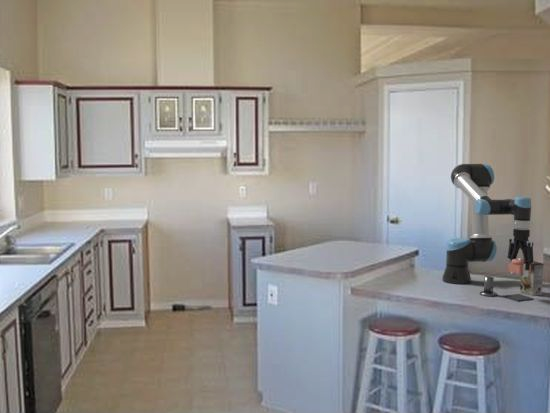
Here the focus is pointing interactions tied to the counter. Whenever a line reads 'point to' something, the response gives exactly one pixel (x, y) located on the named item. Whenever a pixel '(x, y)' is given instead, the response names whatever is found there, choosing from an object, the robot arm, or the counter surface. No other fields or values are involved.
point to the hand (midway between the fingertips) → (519, 275)
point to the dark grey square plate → (518, 297)
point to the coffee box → (533, 280)
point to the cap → (517, 266)
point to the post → (488, 287)
